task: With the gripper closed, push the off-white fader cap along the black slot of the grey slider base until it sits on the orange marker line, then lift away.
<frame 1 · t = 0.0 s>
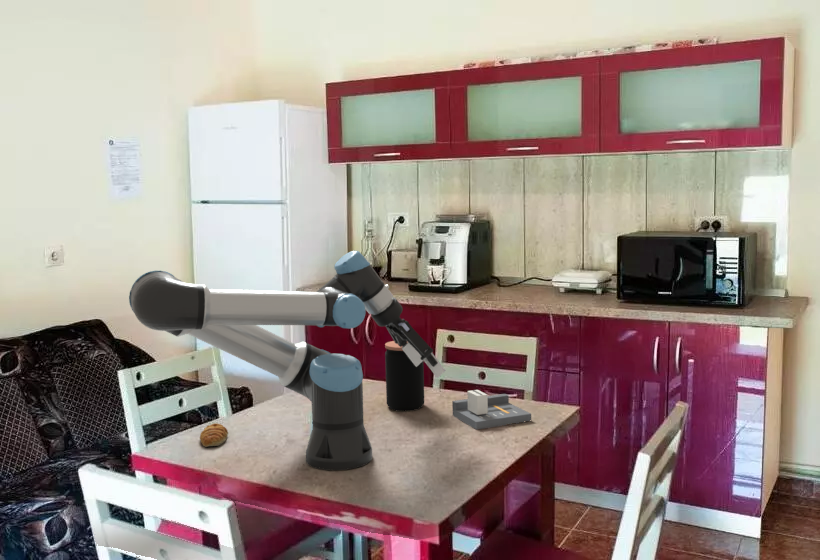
hand: (430, 368, 209), 15 cm above the table, tool tilted 35°, fingers open, 13 cm apart
grey slider base: (491, 418, 216), on the table
fader: (477, 401, 214), point 5 cm above the table, slide at 0.0 cm
coffee jar: (405, 407, 230), on the table
pastry: (214, 442, 203), on the table
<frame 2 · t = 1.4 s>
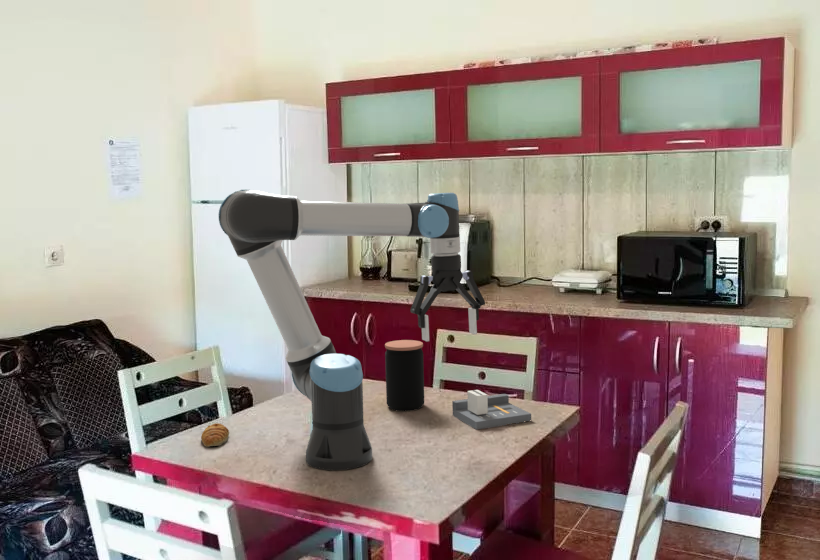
hand: (449, 336, 209), 23 cm above the table, tool pointing down, fingers open, 13 cm apart
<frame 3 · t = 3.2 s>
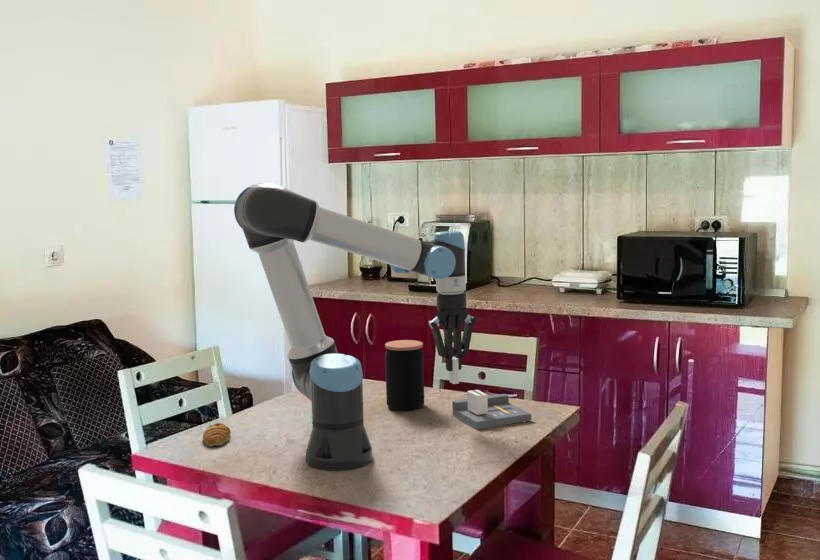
hand: (454, 382, 211), 11 cm above the table, tool pointing down, fingers closed
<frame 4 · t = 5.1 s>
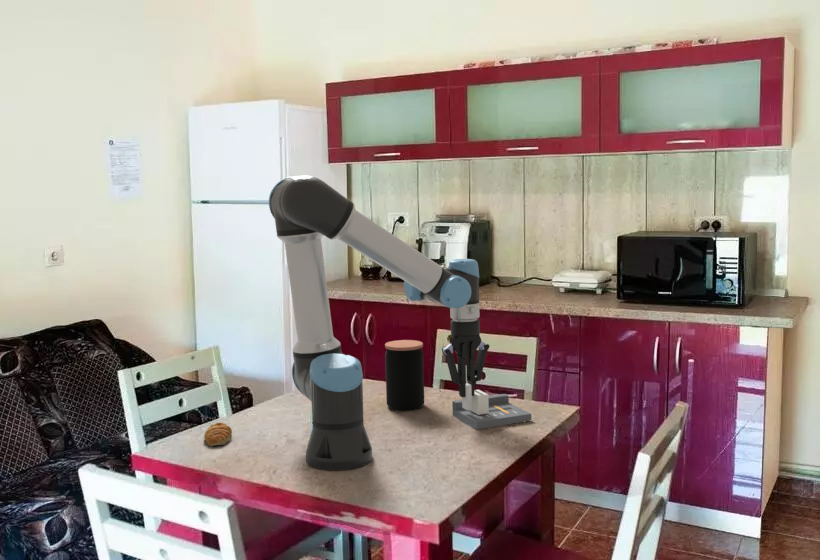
hand: (467, 408, 213), 4 cm above the table, tool pointing down, fingers closed
fader: (478, 401, 214), point 5 cm above the table, slide at 0.3 cm, touching gripper
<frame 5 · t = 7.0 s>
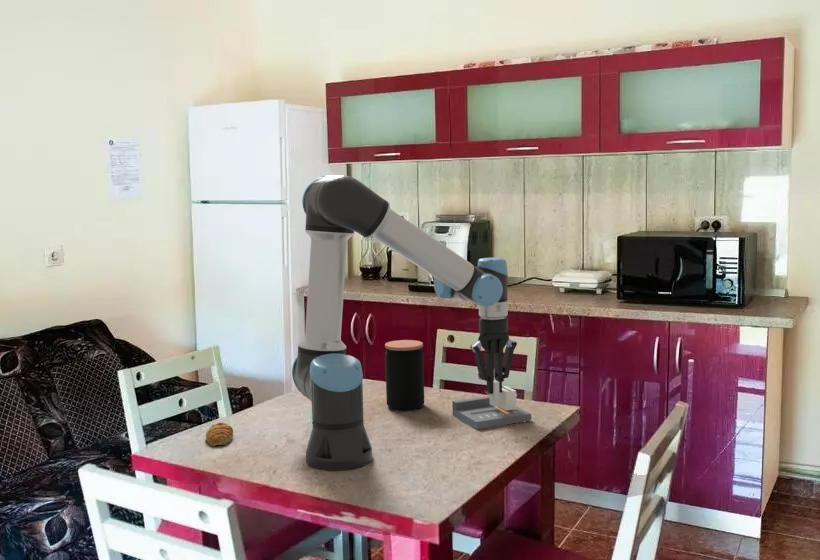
hand: (494, 405, 216), 3 cm above the table, tool pointing down, fingers closed
fader: (506, 397, 218), point 5 cm above the table, slide at 8.5 cm, touching gripper
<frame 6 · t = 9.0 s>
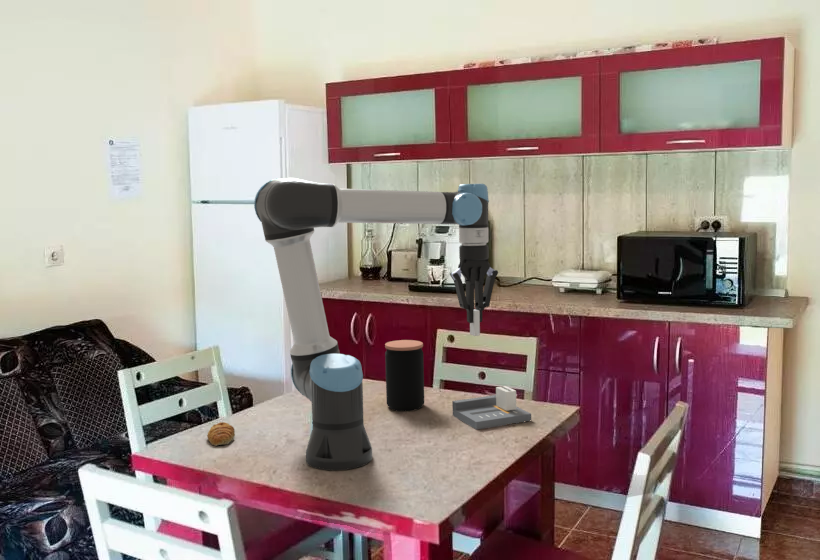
hand: (474, 334, 213), 23 cm above the table, tool pointing down, fingers closed
fader: (506, 397, 218), point 5 cm above the table, slide at 8.5 cm
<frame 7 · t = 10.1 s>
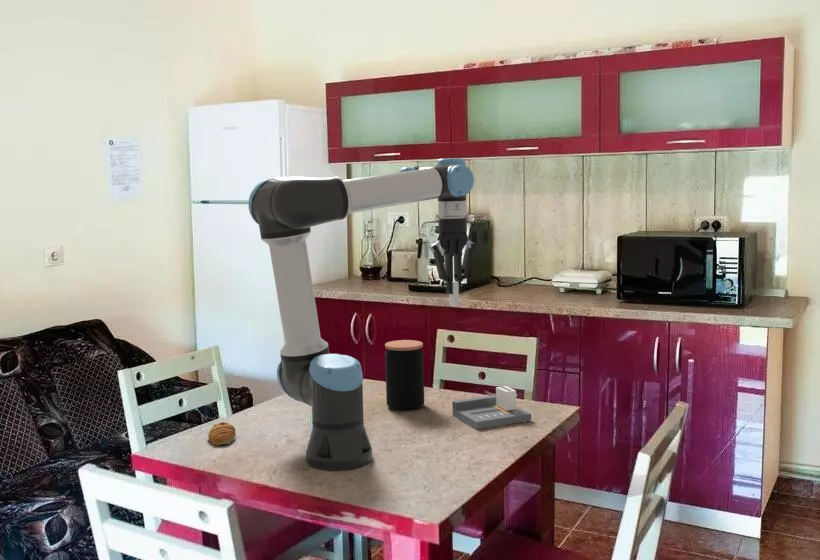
hand: (454, 305, 219), 29 cm above the table, tool pointing down, fingers closed
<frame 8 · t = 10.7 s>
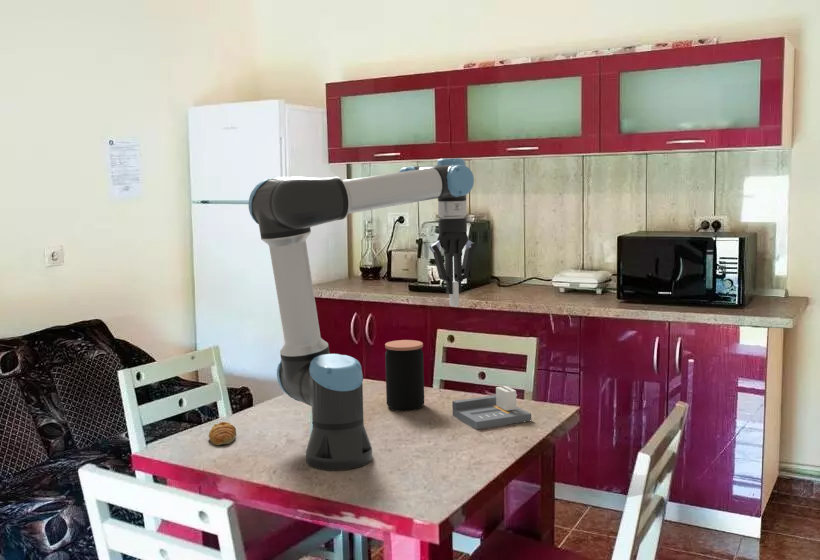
hand: (454, 305, 219), 29 cm above the table, tool pointing down, fingers closed
at the end: fader slide at 8.5 cm; fader touching nothing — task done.
